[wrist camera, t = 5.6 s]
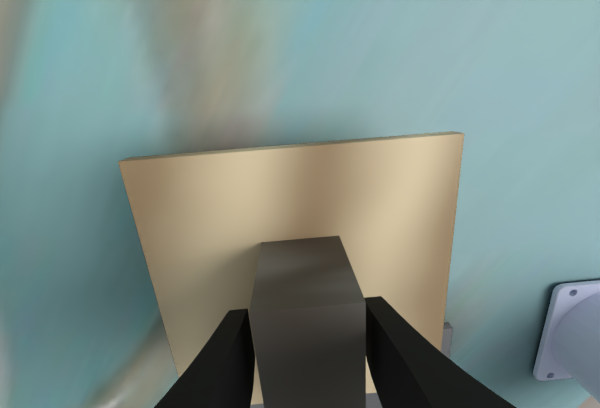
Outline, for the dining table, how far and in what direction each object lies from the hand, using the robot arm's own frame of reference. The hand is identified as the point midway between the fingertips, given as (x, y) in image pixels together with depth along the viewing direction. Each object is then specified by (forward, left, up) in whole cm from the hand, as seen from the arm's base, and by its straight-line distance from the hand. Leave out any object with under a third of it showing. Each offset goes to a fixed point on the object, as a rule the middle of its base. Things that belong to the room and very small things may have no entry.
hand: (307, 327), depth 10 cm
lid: (0, 0, -3) cm, 3 cm away
